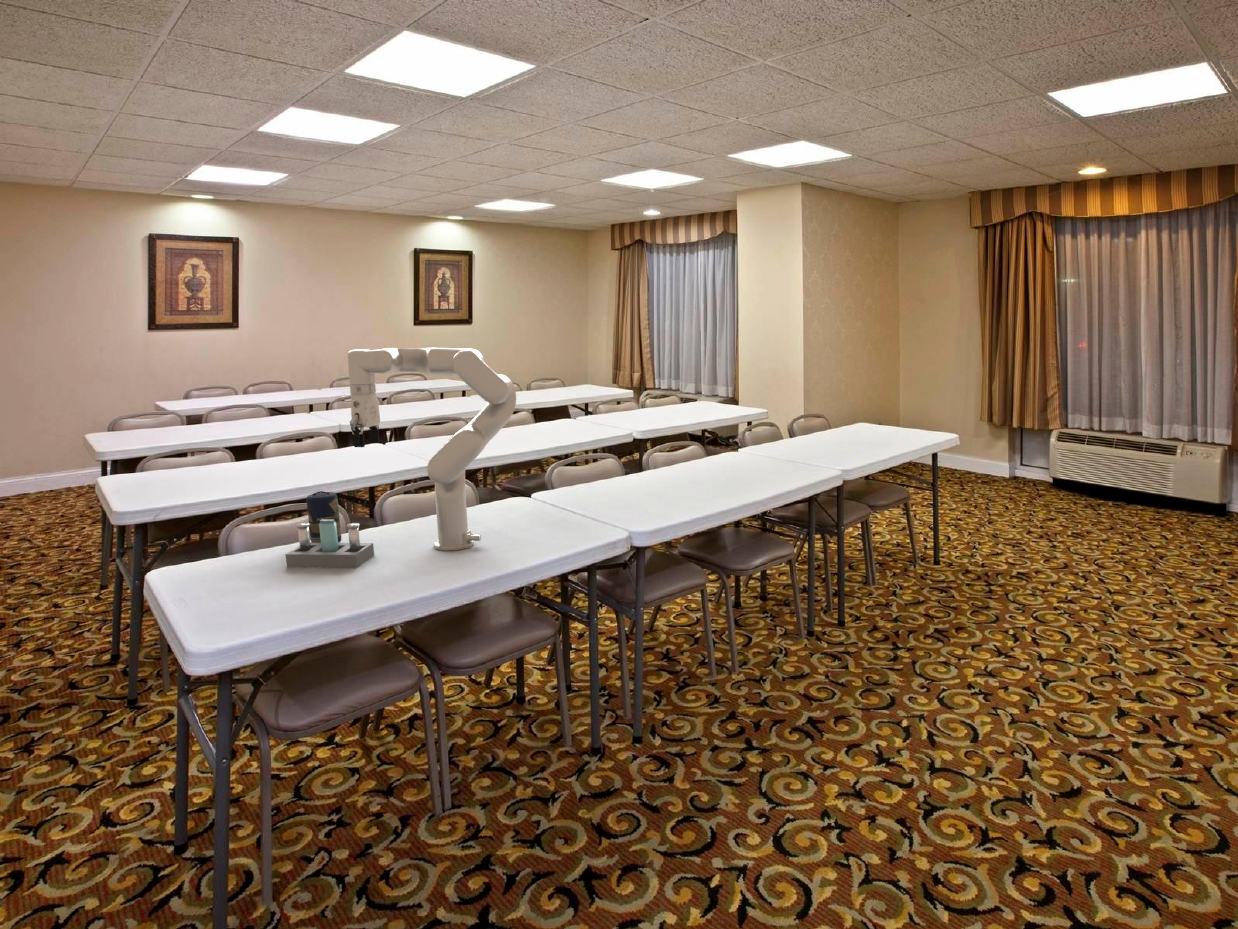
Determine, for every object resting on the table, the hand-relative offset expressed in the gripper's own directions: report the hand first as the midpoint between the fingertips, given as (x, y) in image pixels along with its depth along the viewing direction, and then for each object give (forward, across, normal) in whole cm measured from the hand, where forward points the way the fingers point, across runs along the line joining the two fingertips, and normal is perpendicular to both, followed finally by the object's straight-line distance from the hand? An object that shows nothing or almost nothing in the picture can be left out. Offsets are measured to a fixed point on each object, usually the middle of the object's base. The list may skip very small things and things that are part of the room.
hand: (367, 444), depth 233 cm
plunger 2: (+31, -13, -1) cm, 34 cm away
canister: (+34, +3, +18) cm, 39 cm away
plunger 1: (+31, -14, +15) cm, 37 cm away
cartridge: (+34, -14, +7) cm, 37 cm away
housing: (+34, -14, +7) cm, 37 cm away
